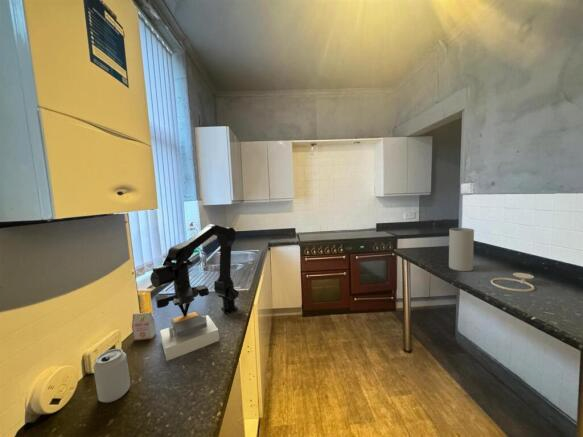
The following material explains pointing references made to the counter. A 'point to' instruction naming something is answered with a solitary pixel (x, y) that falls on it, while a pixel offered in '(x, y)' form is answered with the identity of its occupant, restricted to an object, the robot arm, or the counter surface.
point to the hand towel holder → (519, 275)
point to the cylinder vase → (461, 249)
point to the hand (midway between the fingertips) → (185, 316)
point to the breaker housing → (188, 339)
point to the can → (111, 375)
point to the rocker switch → (188, 323)
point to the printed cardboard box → (143, 326)
